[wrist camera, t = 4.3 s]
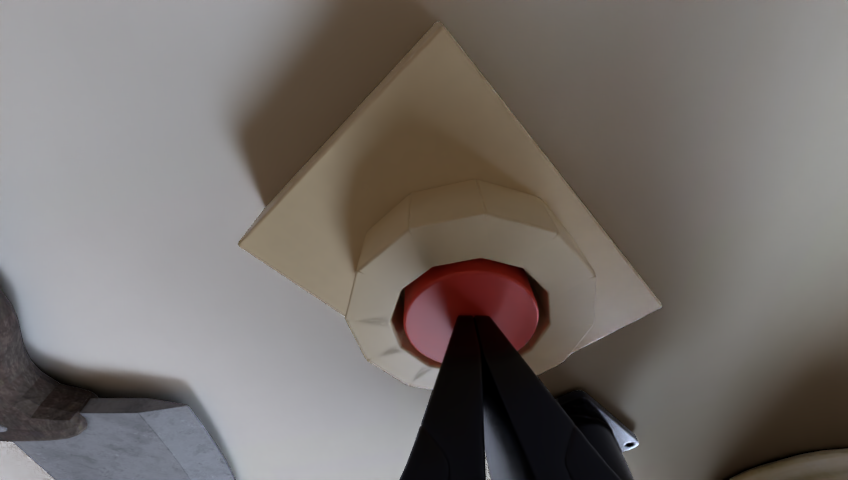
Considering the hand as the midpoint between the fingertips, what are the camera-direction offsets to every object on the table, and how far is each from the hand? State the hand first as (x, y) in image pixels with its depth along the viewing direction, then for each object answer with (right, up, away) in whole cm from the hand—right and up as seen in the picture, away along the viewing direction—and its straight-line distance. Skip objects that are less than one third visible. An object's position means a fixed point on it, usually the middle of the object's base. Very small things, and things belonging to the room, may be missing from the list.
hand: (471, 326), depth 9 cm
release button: (0, +1, +1) cm, 2 cm away
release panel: (0, +2, +3) cm, 4 cm away
